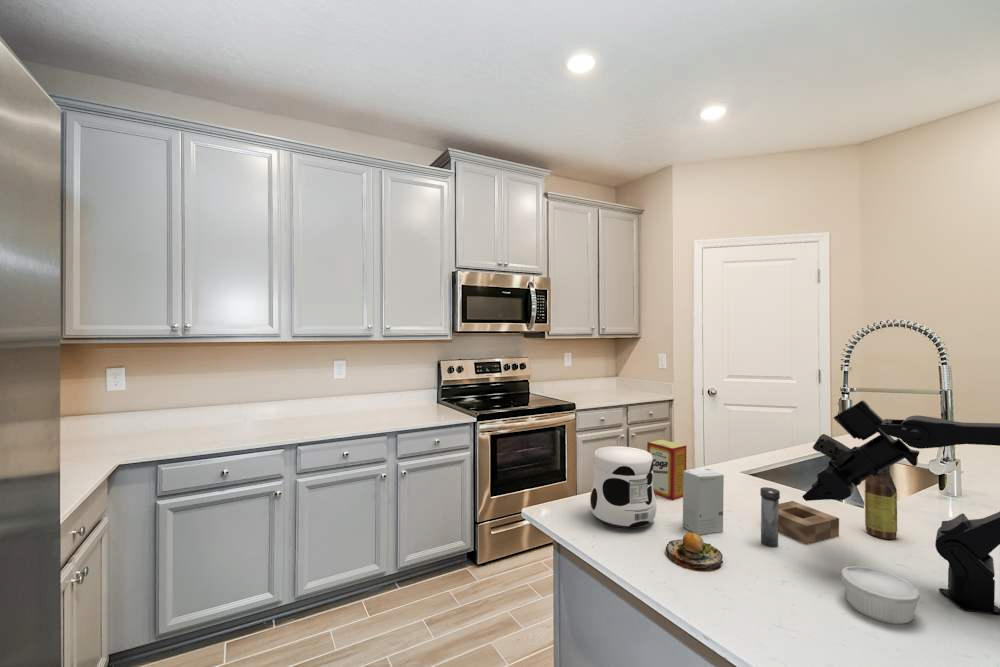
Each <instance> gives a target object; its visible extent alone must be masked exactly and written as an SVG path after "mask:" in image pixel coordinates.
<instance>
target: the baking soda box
mask: <svg viewBox="0 0 1000 667" xmlns="http://www.w3.org/2000/svg"><path fill="white" fill-rule="evenodd" d="M646 448H647V449H646V451H647V452H649V453H650V454H651V455H652V457H653V491H654V495H657V496H659V497H662V498H666V499H668V500H670V501H676V500H678V499H683V471H685V470H687V445H684V444H683V443H679V442H674V441H669V440H665V439H656V440H651V441H650V440H649V441H647V446H646Z"/></svg>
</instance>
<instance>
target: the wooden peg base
mask: <svg viewBox="0 0 1000 667" xmlns="http://www.w3.org/2000/svg"><path fill="white" fill-rule="evenodd" d="M778 534H782V535H784V536H786V537H789V538H791V539H793V540H794V541H797V542H800V543H802V544H804V545H805V546H807V545H810V544H814V543H818V542H822V541H825V539H826V540H830V539H833V537H834V538H837V537H839V536H840V518H839V517H837V516H834V515H831V514H829V513H826V512H824V511H821V510H818V509H816V508H812V507H810V506H807V505H805V504H802V503H799V502H796V501H795V500H790V501H787V502H786V501H785V502H781V503H779V519H778ZM836 536H837V537H836ZM829 538H830V539H829Z"/></svg>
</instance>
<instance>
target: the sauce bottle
mask: <svg viewBox="0 0 1000 667" xmlns="http://www.w3.org/2000/svg"><path fill="white" fill-rule="evenodd" d="M864 484H865V485H864V488H865V489H864V524H865V525H864V526H865V531H866V532H867V534H869V535H871V536H874V537H876V538H880V539H886V540H895V539H896V538H897V532H898V490H897V487H896V484H895V482H894V480H893V478H892V475H891V466H889V467H888V468H886V469H884V470H882V471H880V473H879V474H878V475H876V476H871V477H869V478H867V479H865V480H864Z"/></svg>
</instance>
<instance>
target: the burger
mask: <svg viewBox="0 0 1000 667" xmlns="http://www.w3.org/2000/svg"><path fill="white" fill-rule="evenodd" d="M665 555H666V558H668V559H669V560H671V561H674V562H675V564H676V565H677V566H679V567H682V568H683V567H685V568H686V569H688V570H691V571H696V572H715V571H717V570H720V569H721V568H722V566H723V564H724V561H723V553H722V552H721V550H719V549H718V548H716V547H715V546H713V545H712V544H711V543H707V542H705V541H704V539H703V537H702V536H701V535H698V534H696V533H693V531H692V532H691V531H690V532H687V533H685V534H683V537H682V539H674V540H673V539H672V540H670V541H668V543H666V546H665Z"/></svg>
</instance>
